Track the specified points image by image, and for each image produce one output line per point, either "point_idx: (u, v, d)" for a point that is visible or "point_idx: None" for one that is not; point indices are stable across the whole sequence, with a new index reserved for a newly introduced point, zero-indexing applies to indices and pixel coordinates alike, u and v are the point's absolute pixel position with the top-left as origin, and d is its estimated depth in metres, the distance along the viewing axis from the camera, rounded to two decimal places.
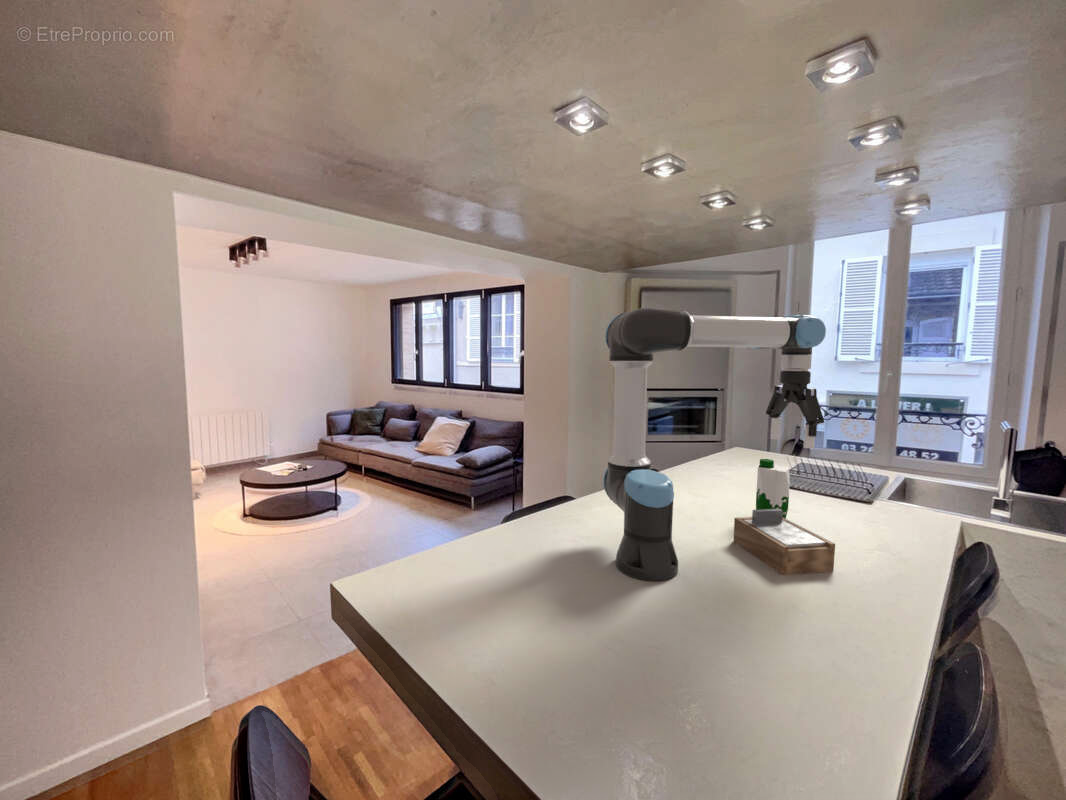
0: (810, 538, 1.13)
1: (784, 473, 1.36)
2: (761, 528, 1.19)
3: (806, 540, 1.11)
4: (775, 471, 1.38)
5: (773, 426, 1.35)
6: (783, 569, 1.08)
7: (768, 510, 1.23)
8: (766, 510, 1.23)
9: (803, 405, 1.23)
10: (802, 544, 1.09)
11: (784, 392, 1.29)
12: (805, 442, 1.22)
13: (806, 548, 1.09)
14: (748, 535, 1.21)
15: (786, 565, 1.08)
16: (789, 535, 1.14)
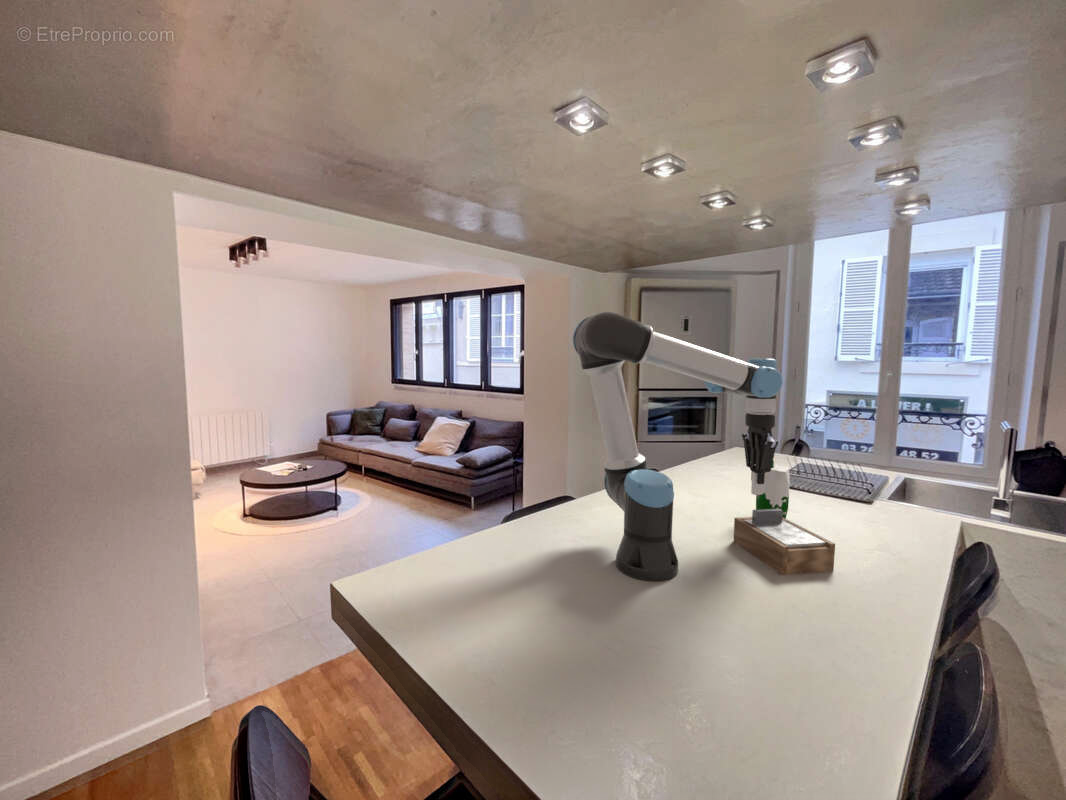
0: (810, 538, 1.13)
1: (784, 473, 1.36)
2: (761, 528, 1.19)
3: (806, 540, 1.11)
4: (775, 471, 1.38)
5: None
6: (783, 569, 1.08)
7: (768, 510, 1.23)
8: (766, 510, 1.23)
9: (760, 453, 1.25)
10: (802, 544, 1.09)
11: (750, 435, 1.28)
12: (754, 489, 1.28)
13: (806, 548, 1.09)
14: (748, 535, 1.21)
15: (786, 565, 1.08)
16: (789, 535, 1.14)
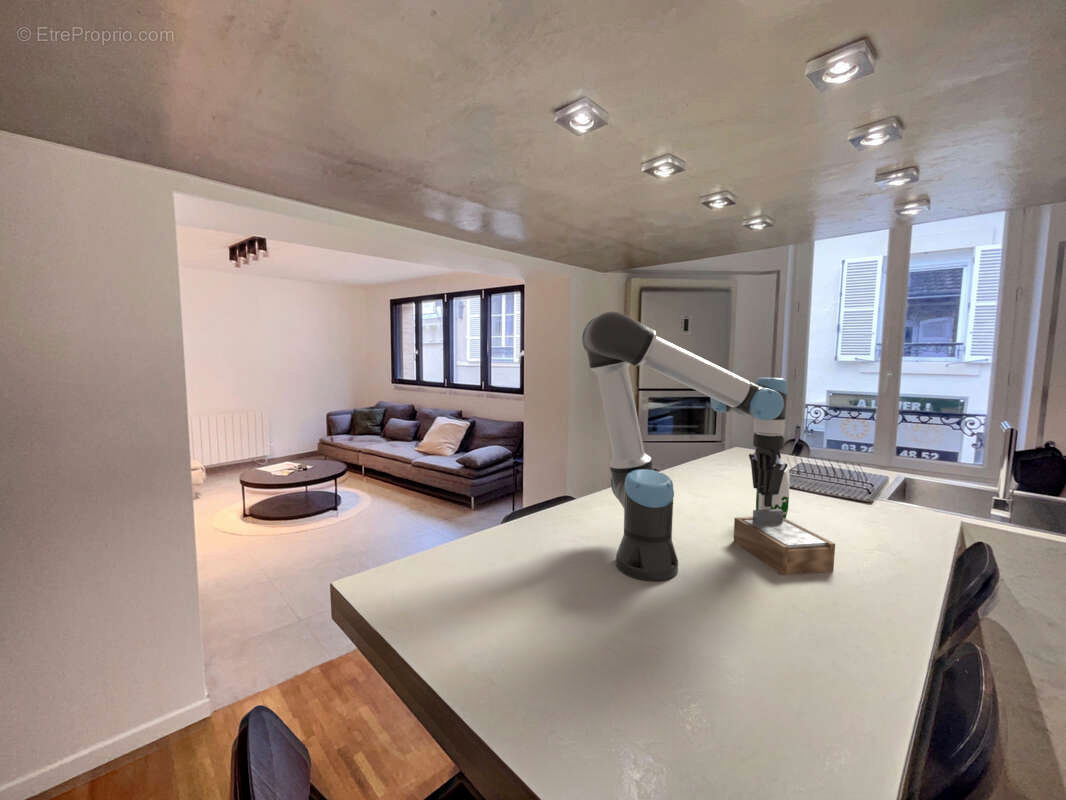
0: (810, 538, 1.12)
1: (784, 473, 1.36)
2: (762, 528, 1.19)
3: (807, 540, 1.11)
4: None
5: None
6: (783, 569, 1.08)
7: (769, 511, 1.23)
8: (767, 510, 1.23)
9: (768, 475, 1.22)
10: (803, 544, 1.09)
11: (757, 456, 1.24)
12: None
13: (806, 548, 1.09)
14: (748, 535, 1.21)
15: (786, 565, 1.08)
16: (790, 535, 1.14)
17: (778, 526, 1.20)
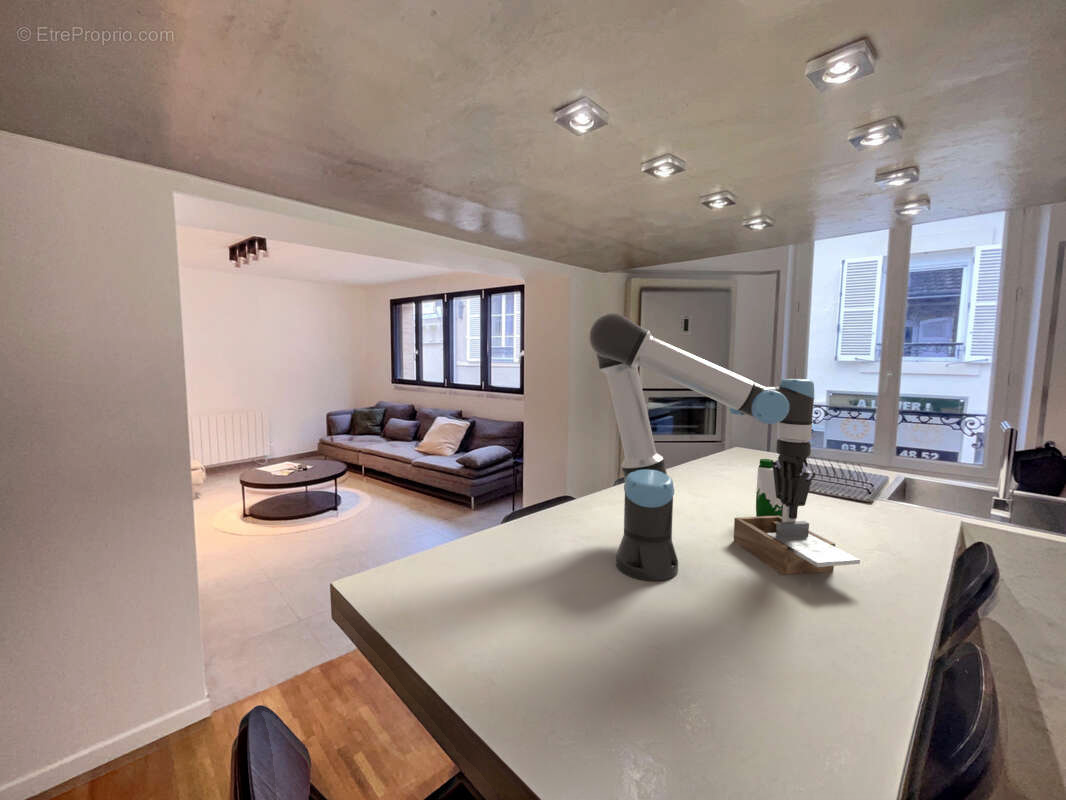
0: (842, 554, 1.03)
1: None
2: (787, 543, 1.09)
3: (838, 557, 1.02)
4: None
5: (785, 514, 1.15)
6: (783, 569, 1.08)
7: (794, 523, 1.13)
8: (791, 523, 1.14)
9: (793, 484, 1.12)
10: (835, 562, 1.00)
11: (781, 464, 1.15)
12: None
13: None
14: (748, 535, 1.21)
15: (786, 565, 1.08)
16: (819, 551, 1.05)
17: (804, 540, 1.11)
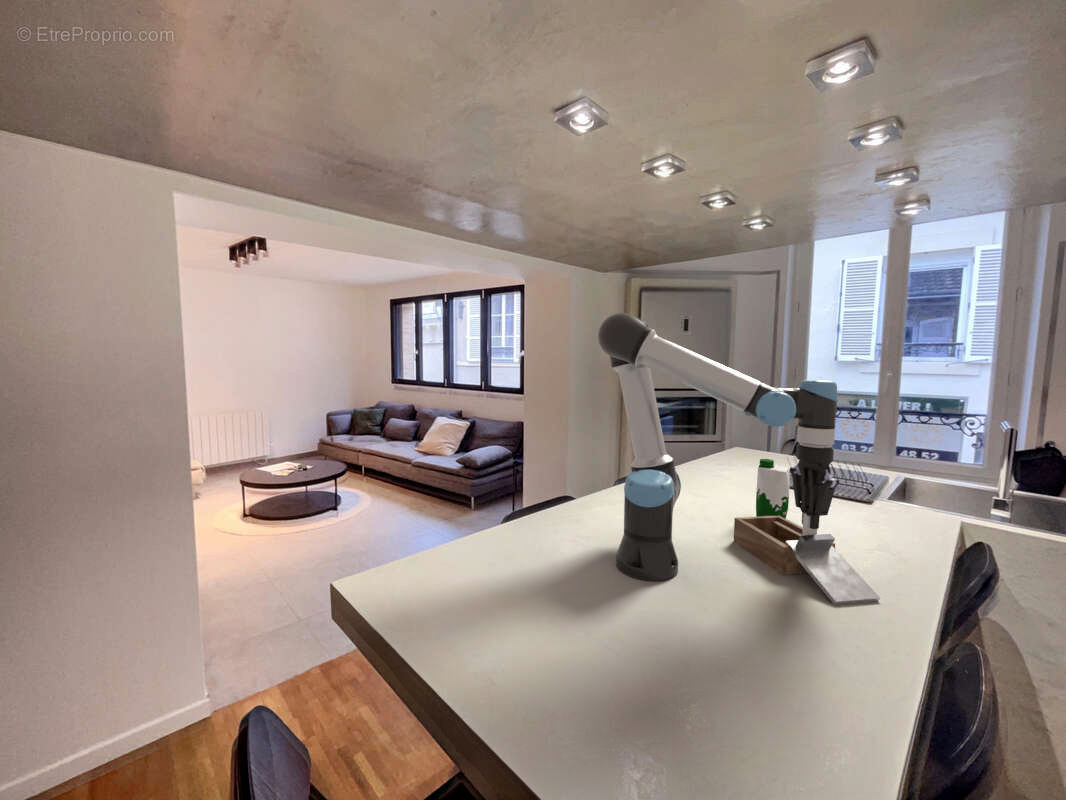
0: (862, 587, 0.98)
1: (784, 473, 1.36)
2: (806, 562, 1.03)
3: (858, 592, 0.97)
4: (775, 471, 1.38)
5: (806, 524, 1.08)
6: (783, 569, 1.08)
7: (819, 538, 1.06)
8: (816, 537, 1.06)
9: (815, 492, 1.05)
10: (854, 600, 0.95)
11: (802, 470, 1.08)
12: (806, 534, 1.08)
13: None
14: (748, 535, 1.21)
15: (786, 565, 1.08)
16: (838, 579, 0.99)
17: (825, 557, 1.05)
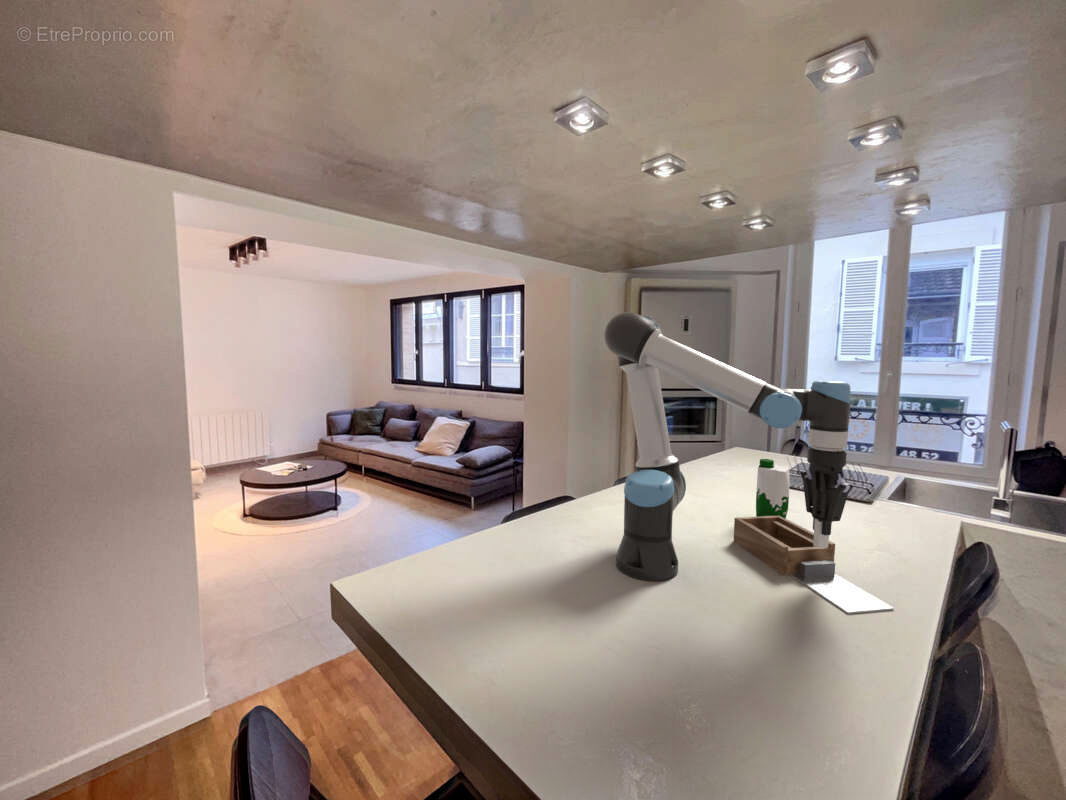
0: (873, 601, 0.95)
1: (784, 473, 1.36)
2: (812, 586, 1.02)
3: (870, 605, 0.94)
4: (775, 471, 1.38)
5: (817, 530, 1.04)
6: (783, 569, 1.08)
7: (819, 563, 1.06)
8: (816, 563, 1.06)
9: (827, 497, 1.02)
10: (867, 611, 0.92)
11: (813, 474, 1.04)
12: (817, 541, 1.04)
13: (806, 548, 1.09)
14: (748, 535, 1.21)
15: (786, 565, 1.08)
16: (848, 597, 0.97)
17: (831, 582, 1.03)
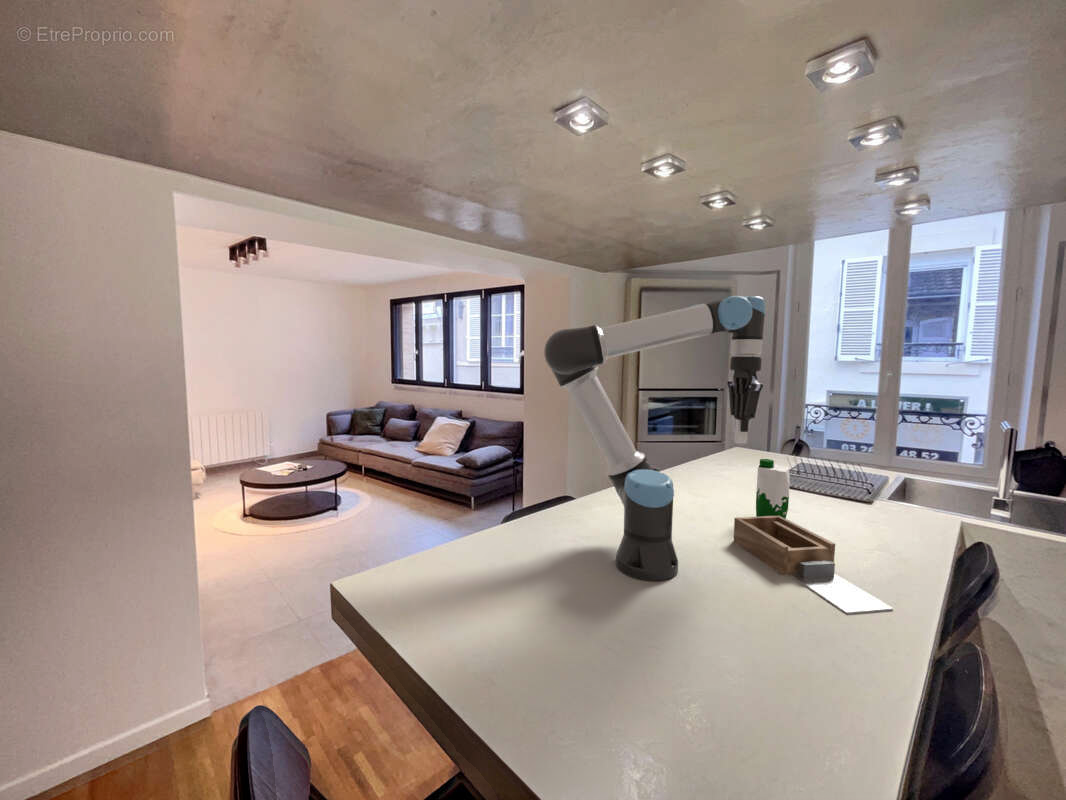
0: (872, 601, 0.95)
1: (784, 473, 1.36)
2: (812, 586, 1.02)
3: (869, 605, 0.94)
4: (775, 471, 1.38)
5: None
6: (783, 569, 1.08)
7: (818, 563, 1.06)
8: (816, 563, 1.06)
9: (744, 398, 1.18)
10: (866, 611, 0.92)
11: (734, 380, 1.21)
12: (737, 437, 1.20)
13: (806, 548, 1.09)
14: (748, 535, 1.21)
15: (786, 565, 1.08)
16: (847, 597, 0.97)
17: (830, 582, 1.03)
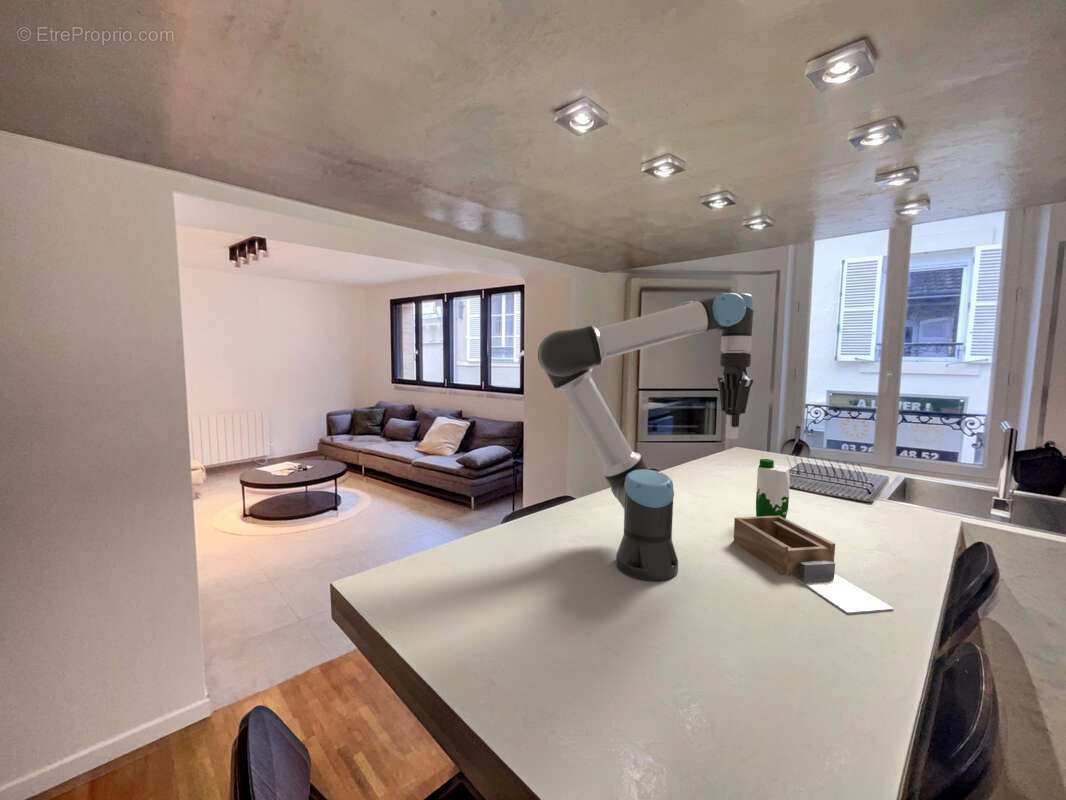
0: (873, 601, 0.95)
1: (784, 473, 1.36)
2: (812, 586, 1.02)
3: (870, 605, 0.94)
4: (775, 471, 1.38)
5: None
6: (783, 569, 1.08)
7: (819, 563, 1.06)
8: (816, 563, 1.06)
9: (735, 394, 1.20)
10: (866, 611, 0.92)
11: (725, 376, 1.22)
12: (728, 433, 1.22)
13: (806, 548, 1.09)
14: (748, 535, 1.21)
15: (786, 565, 1.08)
16: (847, 597, 0.97)
17: (830, 582, 1.03)
